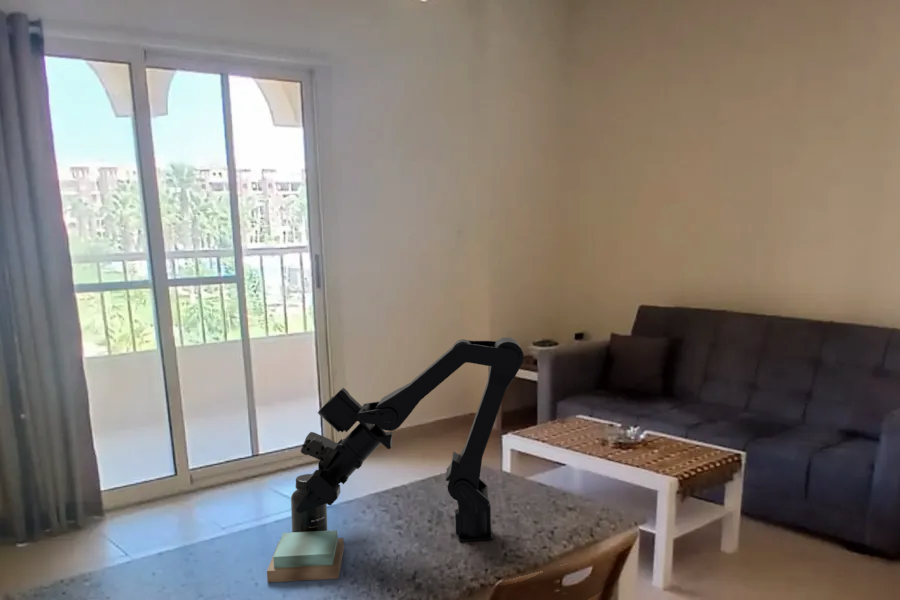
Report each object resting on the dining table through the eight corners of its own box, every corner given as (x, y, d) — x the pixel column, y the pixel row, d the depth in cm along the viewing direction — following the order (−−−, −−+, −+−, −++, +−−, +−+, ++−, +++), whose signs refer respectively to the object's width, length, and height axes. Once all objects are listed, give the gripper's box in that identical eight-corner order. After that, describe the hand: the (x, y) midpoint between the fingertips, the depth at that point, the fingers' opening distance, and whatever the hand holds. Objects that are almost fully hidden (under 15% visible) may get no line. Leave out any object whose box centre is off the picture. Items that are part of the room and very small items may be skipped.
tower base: (343, 548, 134) (343, 527, 134) (338, 578, 122) (337, 555, 122) (279, 551, 134) (278, 531, 133) (267, 582, 122) (266, 559, 121)
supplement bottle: (320, 545, 136) (317, 484, 135) (286, 543, 137) (283, 482, 136) (333, 531, 143) (330, 472, 142) (301, 529, 144) (298, 471, 143)
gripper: (334, 408, 147) (283, 461, 148) (315, 433, 129) (257, 493, 130) (373, 444, 148) (322, 497, 149) (360, 474, 129) (302, 534, 130)
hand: (301, 504), depth 139 cm, fingers closed on supplement bottle, 7 cm apart
